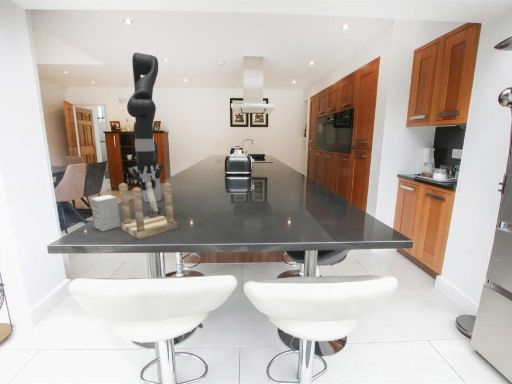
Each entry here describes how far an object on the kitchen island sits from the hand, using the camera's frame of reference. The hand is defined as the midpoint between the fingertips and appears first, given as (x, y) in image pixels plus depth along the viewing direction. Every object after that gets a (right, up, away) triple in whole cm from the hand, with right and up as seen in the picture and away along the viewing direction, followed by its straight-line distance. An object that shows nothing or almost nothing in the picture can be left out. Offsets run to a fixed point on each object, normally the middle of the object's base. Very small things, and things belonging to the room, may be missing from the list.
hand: (148, 189), depth 116 cm
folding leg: (+3, -10, -1) cm, 10 cm away
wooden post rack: (+4, -16, -8) cm, 18 cm away
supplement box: (-14, -16, -7) cm, 22 cm away
